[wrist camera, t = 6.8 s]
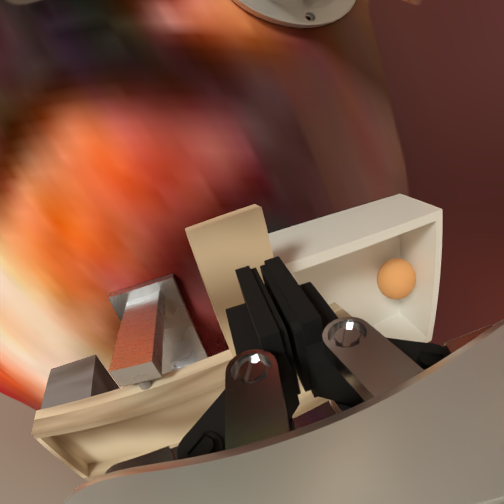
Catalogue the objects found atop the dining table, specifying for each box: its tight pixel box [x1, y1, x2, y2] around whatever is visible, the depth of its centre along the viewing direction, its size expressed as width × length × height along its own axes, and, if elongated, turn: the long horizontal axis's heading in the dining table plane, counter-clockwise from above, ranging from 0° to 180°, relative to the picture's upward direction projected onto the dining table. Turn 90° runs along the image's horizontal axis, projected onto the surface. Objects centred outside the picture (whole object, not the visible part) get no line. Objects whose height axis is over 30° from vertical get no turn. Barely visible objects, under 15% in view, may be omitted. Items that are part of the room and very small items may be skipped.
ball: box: [377, 258, 416, 299], centre depth 26 cm, size 4×4×4 cm
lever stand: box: [109, 273, 209, 387], centre depth 22 cm, size 13×6×10 cm, turn 15°
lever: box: [32, 204, 352, 481], centre depth 19 cm, size 16×24×8 cm, turn 105°
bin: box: [268, 194, 442, 343], centre depth 26 cm, size 15×15×6 cm
